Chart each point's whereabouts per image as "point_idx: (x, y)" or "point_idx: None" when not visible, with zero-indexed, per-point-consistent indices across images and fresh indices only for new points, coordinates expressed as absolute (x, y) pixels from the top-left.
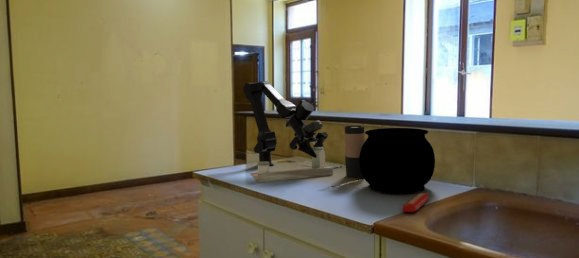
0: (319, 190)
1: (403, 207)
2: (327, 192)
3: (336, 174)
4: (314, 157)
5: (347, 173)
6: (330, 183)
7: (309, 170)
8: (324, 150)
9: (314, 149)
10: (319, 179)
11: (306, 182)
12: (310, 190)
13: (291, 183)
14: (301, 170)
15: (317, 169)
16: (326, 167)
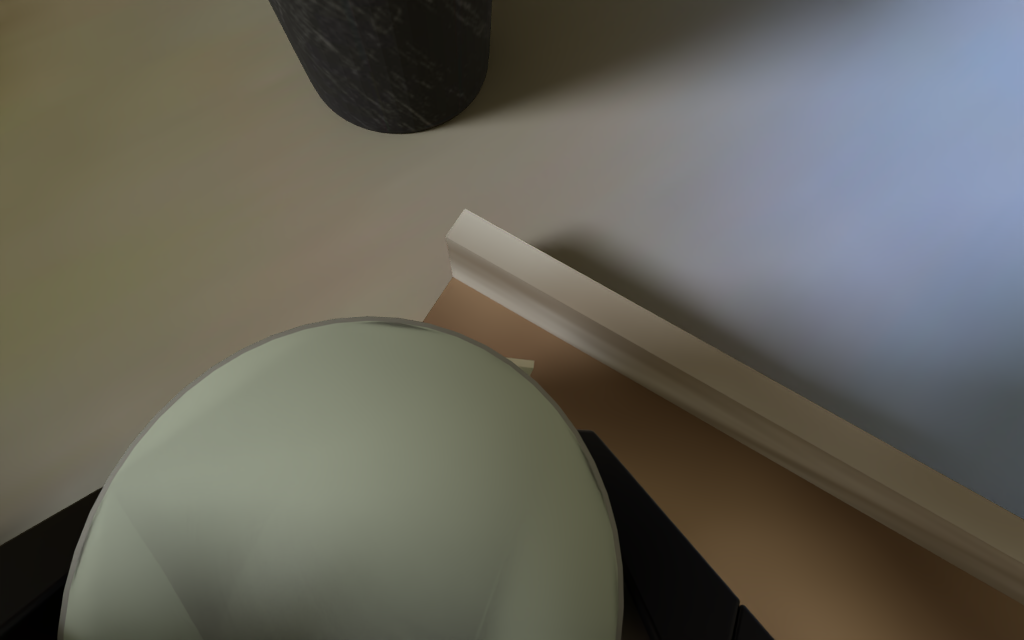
0: (937, 74)
1: None
2: (927, 2)
3: (354, 293)
4: None
5: (483, 45)
6: (711, 126)
7: (776, 390)
8: None
9: (606, 525)
10: (659, 304)
11: (844, 334)
12: (994, 127)
13: (991, 443)
14: (904, 453)
15: (665, 327)
16: (531, 264)
